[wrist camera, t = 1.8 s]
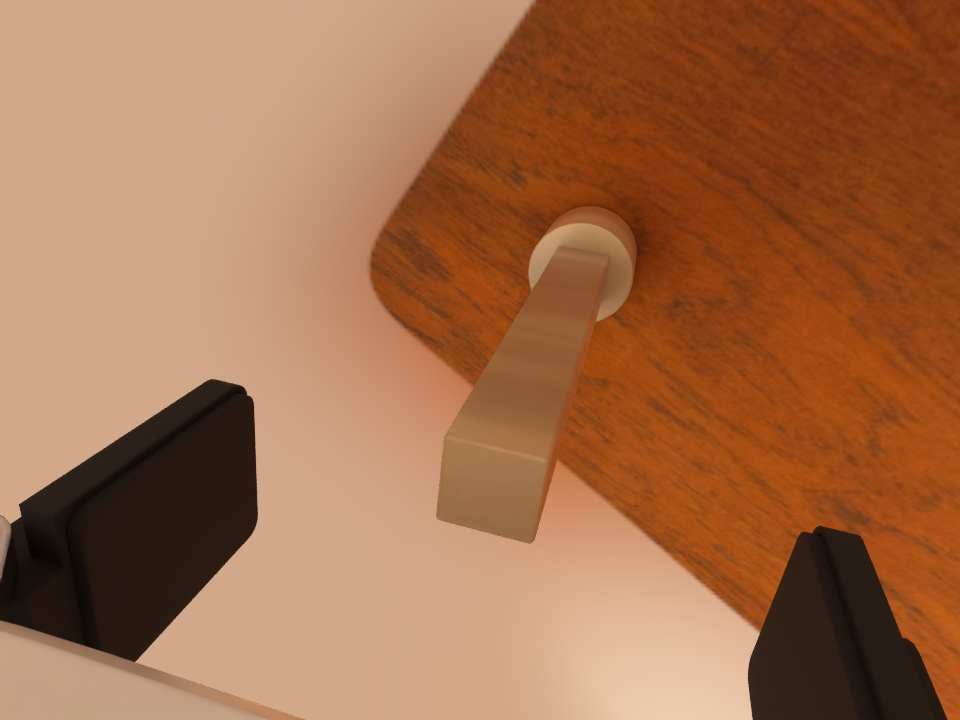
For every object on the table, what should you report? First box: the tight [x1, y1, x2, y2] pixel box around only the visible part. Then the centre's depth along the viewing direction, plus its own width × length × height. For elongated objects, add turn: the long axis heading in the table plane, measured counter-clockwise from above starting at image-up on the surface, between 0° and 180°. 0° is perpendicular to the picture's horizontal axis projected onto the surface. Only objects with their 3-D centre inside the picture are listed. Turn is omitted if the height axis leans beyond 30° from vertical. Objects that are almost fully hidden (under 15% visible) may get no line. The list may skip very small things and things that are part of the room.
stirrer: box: [436, 206, 637, 543], centre depth 18 cm, size 4×4×16 cm
